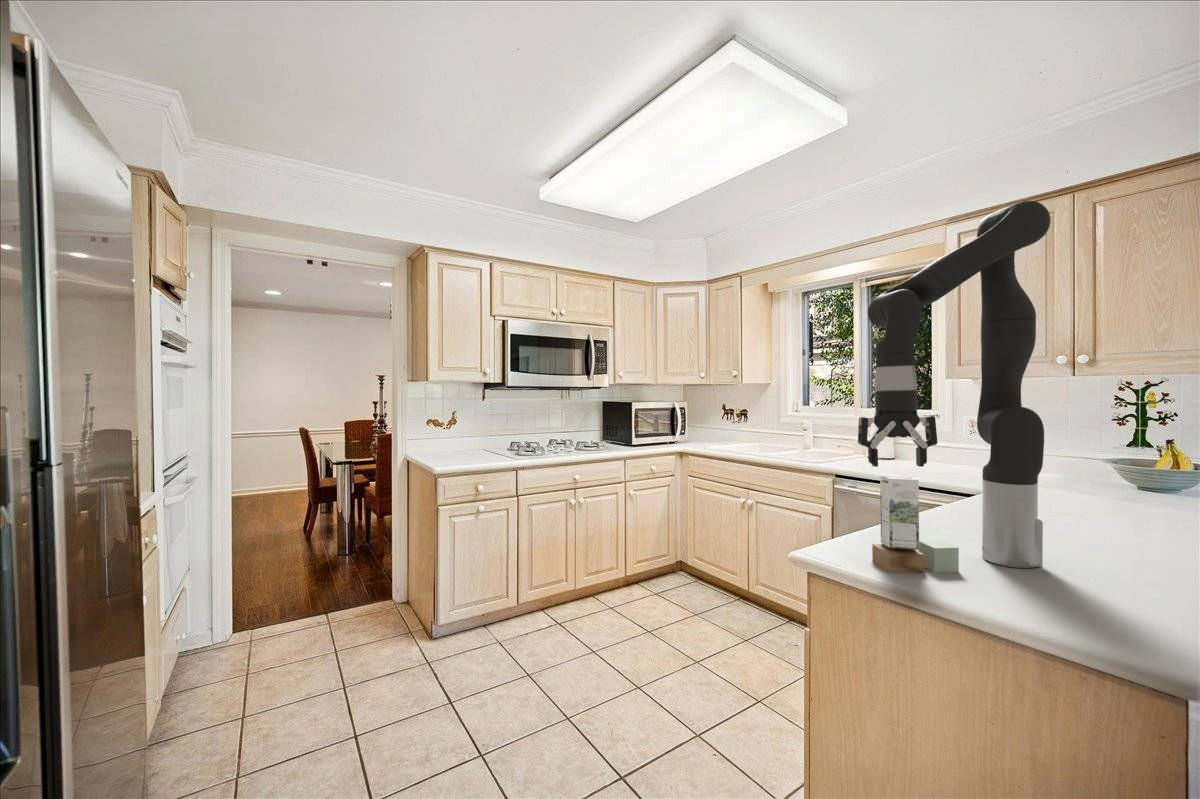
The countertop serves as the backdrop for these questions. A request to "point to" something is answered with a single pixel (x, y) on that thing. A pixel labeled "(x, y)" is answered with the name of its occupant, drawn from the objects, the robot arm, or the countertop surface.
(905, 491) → the syrup box
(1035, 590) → the countertop surface
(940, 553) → the grey-green cube
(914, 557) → the walnut block
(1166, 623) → the countertop surface
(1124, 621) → the countertop surface
